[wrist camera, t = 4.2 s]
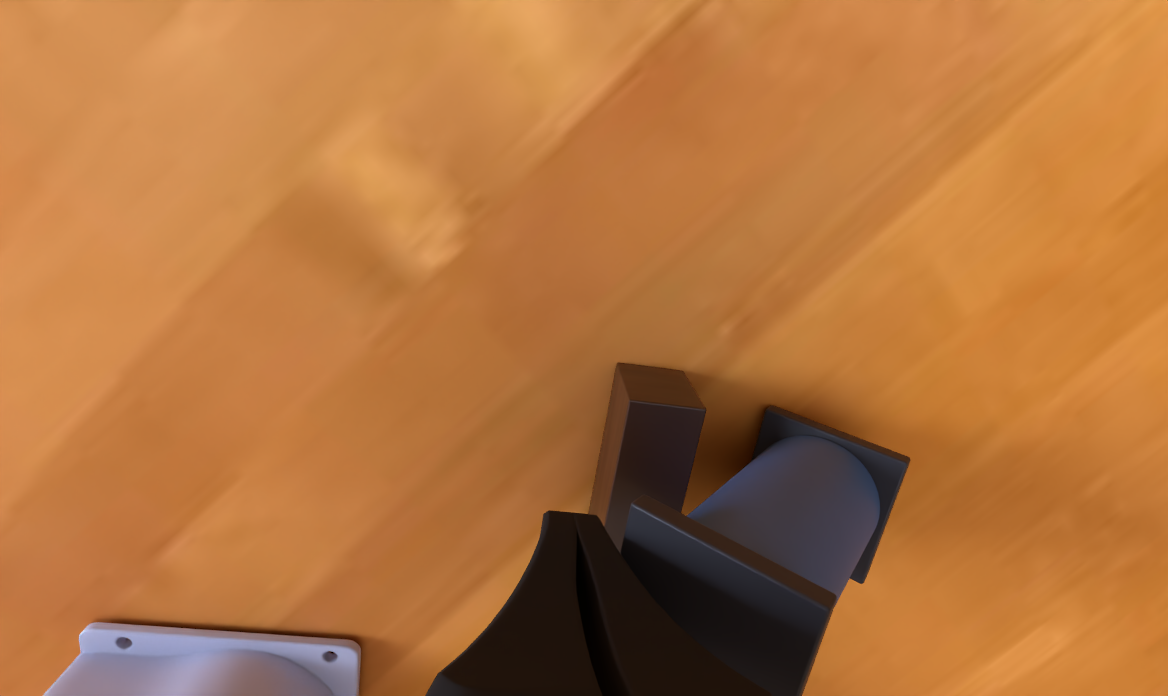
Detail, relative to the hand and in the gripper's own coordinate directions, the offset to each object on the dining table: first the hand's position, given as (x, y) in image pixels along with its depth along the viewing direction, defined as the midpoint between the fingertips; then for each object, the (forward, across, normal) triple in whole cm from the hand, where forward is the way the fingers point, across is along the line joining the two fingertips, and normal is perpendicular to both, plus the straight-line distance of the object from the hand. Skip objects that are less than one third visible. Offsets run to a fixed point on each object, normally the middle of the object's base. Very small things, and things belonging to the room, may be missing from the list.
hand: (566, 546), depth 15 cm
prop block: (+6, -2, 0) cm, 6 cm away
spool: (+1, -6, 0) cm, 6 cm away
